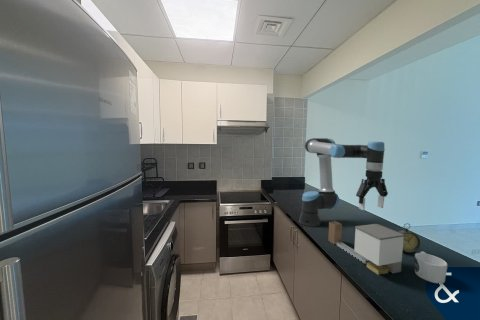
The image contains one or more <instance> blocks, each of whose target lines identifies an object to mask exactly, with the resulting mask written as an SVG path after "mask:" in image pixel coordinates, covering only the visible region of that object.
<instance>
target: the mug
mask: <svg viewBox="0 0 480 320" xmlns="http://www.w3.org/2000/svg"><path fill="white" fill-rule="evenodd" d="M447 270H448V263H447V262H446V261H445V260H444V259H443V258H441V257H438V256H436V255H432V254H429V253H426V252H425V251H420V252H416V253H414V272H415V273H414V274H416V276H418V277H419V278H421V279H423V280H425V281H426V282H430V283H434V284H438V283H442V284H445V282H446V276H447V272H448V271H447Z"/></svg>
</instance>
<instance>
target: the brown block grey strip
mask: <svg viewBox="0 0 480 320" xmlns="http://www.w3.org/2000/svg"><path fill="white" fill-rule="evenodd" d="M342 233H343V223H340V222H338V221H336V220H333V221H329V222H328V237H327V239H328V242H329V241H330V242H329V243H331V244H332V243H333V244H332V245H334V244H336V246H337V247H339V248H340V249H342V250H343V249H344V250H343V251H345V252H346V251H347V252H346V253H348V254H349V253H350V254H349V255H350V256H352V255H353V258H355V257H356V259H357V260H358V259H359V260H358V261H360V262H361V261H362V263H363V264H364V265H367V263H369V262H371V261H370V260H368V259H366V258H365V257H363V256H362V255H360V254H358V253H357V252H355V251H354V248H353V247H350V246H348V244H346V243H344V242H342Z"/></svg>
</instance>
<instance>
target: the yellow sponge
mask: <svg viewBox="0 0 480 320" xmlns="http://www.w3.org/2000/svg"><path fill="white" fill-rule="evenodd" d="M366 268H368V269H369V270H370V271H371V272H374V273H375V274H376V275H378V276H380V275H383V274H388V273H389V271H388V268H387V267H385V266H384V265H381V266H378V265H376V264H374V263H373V262H371V261H370V262H369V263H367V264H366Z"/></svg>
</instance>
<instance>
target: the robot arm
mask: <svg viewBox="0 0 480 320" xmlns="http://www.w3.org/2000/svg"><path fill="white" fill-rule="evenodd" d="M304 143H305V144H304V149H305V151H306V152H308V153H310V154H316V157H317V158H318V161H319V164H318V165H319V167H318V168H319V183H320V184H319V185H320V187H319V188H320V189H319V190H318V191H313V190H312V191H311V190H309V191H306V192H303V194H302V198H301V213H300V215H299V219H298V223H299V224H300V225H303V226H304V227H305V226H306V227H310V228H311V227H312V228H314V227H319V226H321V219H320V215H319V210H334V209H336V208H337V207H339V204H340V197H339V194H338V193H336V191H335V189H334V188H333V185H334V184H333V171H332V170H333V169H332V167H333V166H332V158H337V159H340V158H341V159H343V158H344V159H346V158H347V159H352V158H353V159H366V163H365V177H366V179H364V178H362V179H361V183H360V185H359V187H358V189H357V192H356V194H355V196H356V197H357V198H358V204H359V205H358V209H359V210H361V211H365V209H366V208H365V207H366V196H367V194H368V193H369V191H370V190H371V189H372V188H375V190H376V191H377V193H378V194H379V195H377V208H380V209H383V208H384V205H385V204H384V202H385V197H387V196H388V193H389V192H388V189H387V185H386V179H385V178H383V168H384V157H385V151H386V150H385V142H384V141H368V142H367V145H366V144H365V145H364V144H339V143H336V141H335V140H334V139H332V138H328V137H325V138H323V137H322V138H320V137H318V138H315V137H313V138H310V139H307V141H306V142H304Z"/></svg>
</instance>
